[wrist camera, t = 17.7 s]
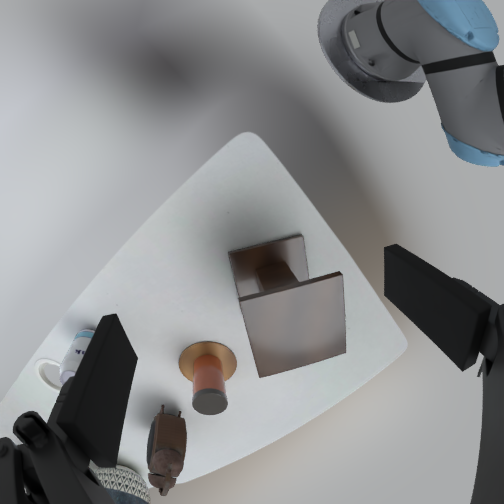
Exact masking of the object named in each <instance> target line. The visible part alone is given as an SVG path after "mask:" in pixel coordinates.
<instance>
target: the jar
mask: <svg viewBox="0 0 504 504" xmlns="http://www.w3.org/2000/svg"><path fill="white" fill-rule="evenodd" d="M192 405H193V408H194V409H195V410H196V411H197V412H199V413H201V414H204V415H216V414H219V413H221V412H223V411H224V410H225V409H226V408H227V405H228V402H227V396H226V390H225V382H224V373H223V365H222V362H221V360H220V359H219V358H218V357H216V356H213V355H202V356H199V357H198V358H196V359H195V361H194V363H193V398H192Z"/></svg>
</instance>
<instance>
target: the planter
mask: <svg viewBox="0 0 504 504" xmlns="http://www.w3.org/2000/svg"><path fill="white" fill-rule="evenodd" d="M95 475H96V476H97V478H98V479H99V481H100V482H101V484H102V485H103V487H104V488H105V489H106V491H107V492H108V494H109V495H110V496H111V498H112V499H113V500H114V502H115V503H116V504H150V494H149V490H148V487H147V485H146V483H145V481H144V480H143V479H142V478H141V476H140V475H138V474H137V473H136V472H135V471H133V470H131V469H129V468H127V467H124V466H120V465H116V468H100V469H98V470H97V471H96V472H95Z"/></svg>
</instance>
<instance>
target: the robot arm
mask: <svg viewBox="0 0 504 504" xmlns="http://www.w3.org/2000/svg"><path fill="white" fill-rule="evenodd" d="M497 33H498V28H497V25H496V23H495V20H494V18H493V16H492V14H491V12H490V11H489V9H488V8H487V6H486V5H485V4H484V2H483V1H482V0H385V1H383V2H375V3H367V4H362V5H359V6H357V7H355V8H354V9H352V10H351V11H350V12H349V13H348V14H347V15H346V16H345V18H344V20H343V23H342V39H343V42H344V45H345V48H346V50H347V52H348V53H349V55H350V57H351V58H352V59H353V61H354V62H355V63H356V64H357V65H358V66H359V67H360V68H361V69H362V70H363V71H364V72H366V73H367V74H369V75H370V76H372V77H374V78H376V79H379V80H382V81H389V82H392V81H398V80H402V79H405V78H407V77H409V76H410V75H412V74H413V73H414V72H415V71H416V70H417V69H418V68H419V67H420V66H422V68H423V71H424V73H425V76H426V79H427V81H428V84H429V87H430V89H431V92H432V95H433V97H434V100H435V103H436V106H437V109H438V112H439V115H440V119H441V126H442V129H443V130H444V132H445V134H446V137H447V140H448V143H449V146H450V148H451V150H452V151H453V152H454V153H455V154H456V156H457V157H459V158H461V159H462V160H464V161H467V162H469V163H472V164H476V165H482V166H491V167H497V166H499V165H504V65H501V66H498V64H497V62H496V59H495V57H494V54H493V52H492V50H494V49H495V48H496V47H497V45H498V43H499V36H498V34H497ZM384 279H385V280H384V283H385V284H384V296H385V297H387V298H388V299H389V300H390V301H391V302H392V303H393V304H394V305H395V306H396V307H397V308H398V309H399V310H400V311H402V312H403V313H404V314H405V315H406V316H407V317H408V318H409V319H410V320H411V321H412V322H413V323H414V324H415V325H416V326H417V327H418V328H419V329H420V330H421V331H422V332H424V333H425V334H426V335H427V336H428V337H429V338H430V339H431V340H432V341H433V342H434V343H435V344H436V345H437V346H438V347H439V348H440V349H441V350H442V351H443V352H444V353H445V354H446V355H447V356H448V357H449V358H450V359H451V360H452V361H453V362H454V363H455V364H456V365H457V367H458V368H460V369H461V371H464V370H466V369H467V368H469V367H471V366H472V365H473V364H475V363H476V360H477V357H478V354H479V352H480V353H481V354H482V355H484V358H483V361H482V364H481V367H480V369H479V372H478V376H477V377H480V374H481V372H483V412H482V429H481V441H480V450H479V459H478V466H477V473H476V478H475V484H474V489H473V494H472V499H471V503H470V504H504V304H502V305H499V304H497V303H496V302H495V301H493V300H492V299H490V298H489V297H487V296H485V295H484V294H483V293H481V292H478V290H477V289H475V288H474V287H473V288H472V286H471V285H469V284H468V283H466V282H465V281H463V280H460V279H456V278H451V277H449V276H448V275H446V274H445V273H443V272H441V271H440V270H438V269H437V268H435V267H434V266H432V265H430V264H429V263H427V262H425V261H424V260H422V259H421V258H419V257H418V256H416V255H414V254H413V253H411V252H409V251H408V250H406V249H404V248H402V247H401V246H399V245H398V244H394V245H390V246H387V247H384ZM137 360H138V357H137V355H136V353H135V351H134V350H133V348H132V346H131V344H130V341H129V339H128V337H127V335H126V333H125V331H124V329H123V327H122V325H121V323H120V320H119V318H118V316H117V314H111V315H106V316H103V317H102V319H101V320H100V322H99V324H98V326H97V328H96V330H95V333H94V335H93V337H92V339H91V341H90V343H89V345H88V347H87V349H86V351H85V353H84V356H83V358H82V360H81V362H80V364H79V367H78V369H77V371H76V373H75V376H71V377H69V379H68V380H67V381H66V382H65V383H64V384H63V386H62V388H61V391H60V393H59V396H58V398H57V400H56V403H55V405H54V407H53V409H52V412H51V414H50V417H49V419H48V422H47V424H46V422H45V421H44V420H43V419H42V418H41V416H40V415H39V414H38V413H37V412H34V411H28V412H26V413H24V414H22V415H21V416H20V417H18V419H17V420H16V421H15V423H14V426H13V433H14V434H15V435H16V436H17V438H18V439H19V440H20V441H21V442H22V443H23V444H20V445H16V444H15V443H14V442H13V441H12V440H11V439H10V438H7V437H4V438H1V439H0V504H116V503H115V502H114V500H113V499H112V498H111V496H110V495H109V494H108V492H107V491H106V489H105V488H104V487H103V485H102V484H101V482H100V481H99V479H98V478H97V476H96V475H95V473H94V472H93V471H92V470H91V469H90V468H89V463H90V460H92V461H93V462H94V463H95V464H96V465H97V466H98V467H101V468H116V464H117V458H118V452H119V446H120V440H121V435H122V429H123V424H124V419H125V414H126V409H127V404H128V399H129V395H130V390H131V385H132V381H133V377H134V372H135V368H136V364H137ZM24 488H26V492H27V494H26V493H25V490H24Z"/></svg>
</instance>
